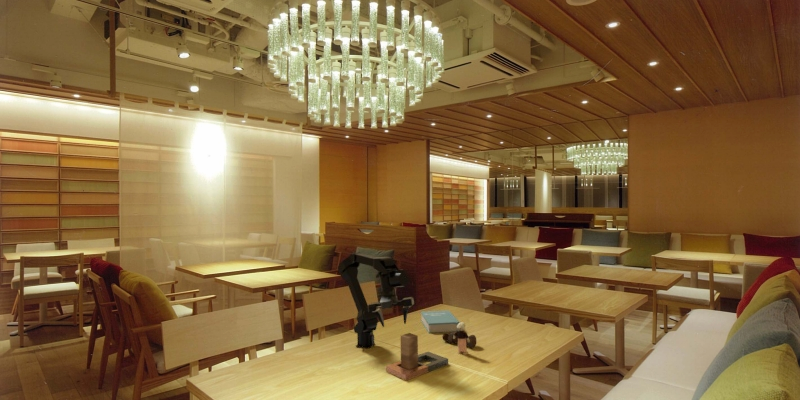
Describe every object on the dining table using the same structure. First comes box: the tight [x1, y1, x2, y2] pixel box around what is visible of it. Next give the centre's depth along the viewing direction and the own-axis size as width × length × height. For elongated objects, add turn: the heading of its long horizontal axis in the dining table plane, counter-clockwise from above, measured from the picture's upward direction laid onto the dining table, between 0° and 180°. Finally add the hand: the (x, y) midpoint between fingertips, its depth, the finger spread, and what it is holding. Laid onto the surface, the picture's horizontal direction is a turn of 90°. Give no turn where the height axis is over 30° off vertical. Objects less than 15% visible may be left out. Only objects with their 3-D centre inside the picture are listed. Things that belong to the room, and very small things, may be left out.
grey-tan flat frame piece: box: [385, 351, 449, 381], centre depth 155 cm, size 22×11×2 cm, turn 131°
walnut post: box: [400, 332, 419, 370], centre depth 152 cm, size 4×4×13 cm
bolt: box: [442, 332, 477, 349], centre depth 180 cm, size 6×5×15 cm
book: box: [420, 309, 460, 334], centre depth 209 cm, size 23×16×5 cm
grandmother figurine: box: [453, 321, 470, 356], centre depth 169 cm, size 8×4×13 cm, turn 65°
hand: (394, 325), depth 169 cm, fingers open, 9 cm apart
